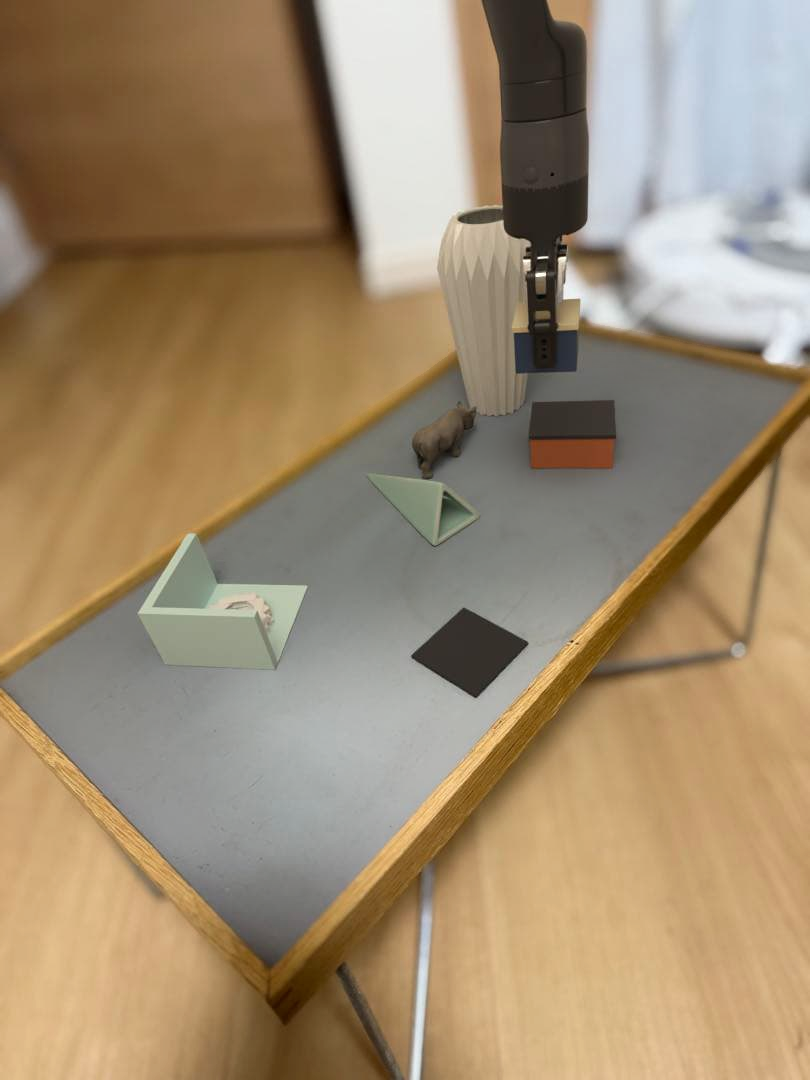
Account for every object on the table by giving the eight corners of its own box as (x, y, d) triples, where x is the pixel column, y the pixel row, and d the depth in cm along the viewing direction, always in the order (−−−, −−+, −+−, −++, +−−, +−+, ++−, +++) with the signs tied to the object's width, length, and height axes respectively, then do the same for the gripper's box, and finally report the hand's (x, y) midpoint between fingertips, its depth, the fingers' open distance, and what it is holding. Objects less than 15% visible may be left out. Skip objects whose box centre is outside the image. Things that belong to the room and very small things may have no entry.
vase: (433, 412, 104) (410, 226, 87) (487, 374, 111) (475, 195, 94) (507, 436, 96) (496, 237, 80) (560, 393, 103) (561, 202, 87)
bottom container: (612, 433, 93) (614, 399, 90) (614, 469, 87) (616, 434, 84) (533, 434, 96) (532, 401, 93) (529, 469, 90) (528, 435, 86)
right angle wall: (274, 669, 69) (254, 617, 64) (165, 664, 72) (137, 613, 67) (307, 585, 78) (291, 533, 73) (209, 583, 81) (187, 533, 76)
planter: (324, 501, 90) (417, 531, 77) (348, 458, 91) (443, 481, 78) (364, 528, 95) (457, 561, 82) (386, 487, 96) (481, 513, 83)
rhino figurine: (491, 431, 98) (488, 392, 94) (432, 482, 90) (426, 442, 87) (467, 424, 100) (463, 386, 96) (407, 473, 93) (401, 434, 89)
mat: (464, 609, 72) (463, 606, 72) (528, 644, 67) (528, 641, 67) (411, 658, 68) (411, 655, 68) (475, 698, 63) (475, 695, 63)
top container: (579, 344, 74) (580, 298, 71) (577, 372, 69) (578, 324, 66) (519, 347, 76) (517, 301, 72) (513, 374, 71) (511, 327, 68)
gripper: (586, 190, 55) (583, 383, 66) (590, 148, 66) (586, 320, 76) (491, 199, 57) (502, 385, 67) (509, 157, 68) (517, 323, 78)
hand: (547, 350), depth 72 cm, fingers closed on top container, 6 cm apart
